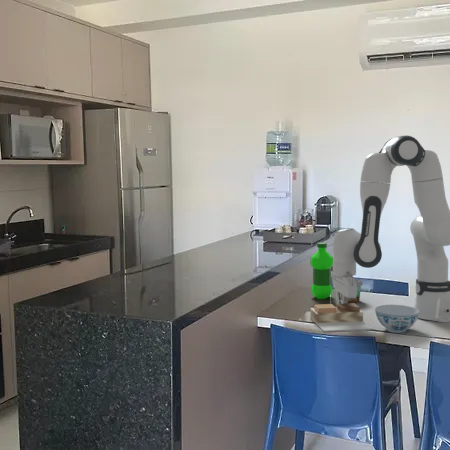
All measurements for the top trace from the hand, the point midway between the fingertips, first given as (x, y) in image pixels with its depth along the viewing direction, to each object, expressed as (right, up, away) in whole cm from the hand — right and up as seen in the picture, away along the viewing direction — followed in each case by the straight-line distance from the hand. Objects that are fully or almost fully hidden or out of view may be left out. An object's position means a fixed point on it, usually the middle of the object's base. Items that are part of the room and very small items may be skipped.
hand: (344, 304), depth 214 cm
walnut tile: (0, 0, -5) cm, 5 cm away
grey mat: (-3, -6, -14) cm, 16 cm away
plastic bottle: (-3, -2, +33) cm, 34 cm away
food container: (+8, -3, +22) cm, 24 cm away
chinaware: (+14, -7, -19) cm, 25 cm away
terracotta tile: (-9, -1, -6) cm, 10 cm away
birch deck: (-4, -5, -4) cm, 8 cm away
